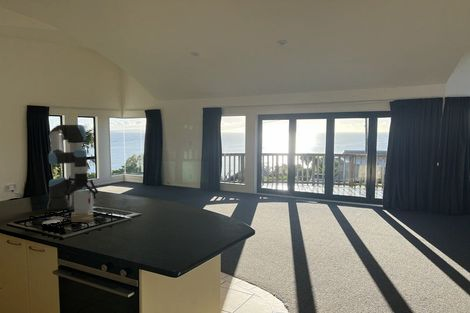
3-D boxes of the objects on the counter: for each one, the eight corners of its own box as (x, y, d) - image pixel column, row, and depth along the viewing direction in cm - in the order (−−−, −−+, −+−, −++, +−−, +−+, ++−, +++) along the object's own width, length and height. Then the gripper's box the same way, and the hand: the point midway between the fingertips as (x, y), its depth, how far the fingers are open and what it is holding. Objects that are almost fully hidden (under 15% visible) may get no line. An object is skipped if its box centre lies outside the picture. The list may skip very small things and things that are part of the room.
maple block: (72, 219, 228) (71, 212, 227) (92, 217, 233) (92, 210, 232) (71, 224, 216) (71, 216, 215) (93, 221, 221) (93, 214, 221)
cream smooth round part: (44, 222, 219) (44, 220, 219) (61, 221, 222) (61, 219, 222) (41, 226, 210) (40, 224, 210) (58, 224, 213) (58, 222, 213)
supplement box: (87, 214, 221) (87, 191, 220) (74, 214, 221) (73, 191, 220) (93, 211, 230) (92, 189, 229) (80, 211, 230) (79, 189, 229)
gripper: (58, 174, 215) (60, 207, 216) (100, 172, 223) (102, 204, 224) (60, 173, 222) (62, 205, 223) (101, 171, 230) (102, 202, 231)
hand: (82, 204), depth 224 cm, fingers open, 13 cm apart
